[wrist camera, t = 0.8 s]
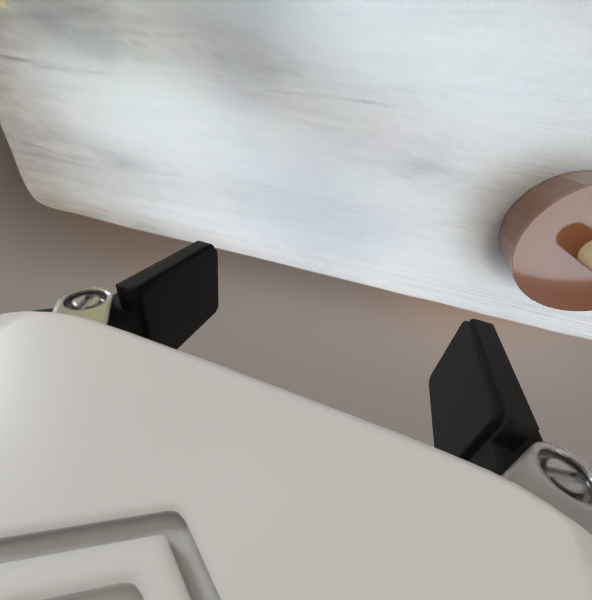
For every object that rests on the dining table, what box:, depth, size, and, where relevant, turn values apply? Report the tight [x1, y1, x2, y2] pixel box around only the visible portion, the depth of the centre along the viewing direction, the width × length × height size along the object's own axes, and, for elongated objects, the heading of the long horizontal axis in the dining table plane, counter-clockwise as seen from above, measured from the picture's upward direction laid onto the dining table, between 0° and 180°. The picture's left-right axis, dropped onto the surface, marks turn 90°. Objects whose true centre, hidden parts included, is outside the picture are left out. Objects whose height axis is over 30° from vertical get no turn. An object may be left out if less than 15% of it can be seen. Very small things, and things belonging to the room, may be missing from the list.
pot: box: [499, 170, 592, 268], centre depth 31 cm, size 13×13×7 cm
